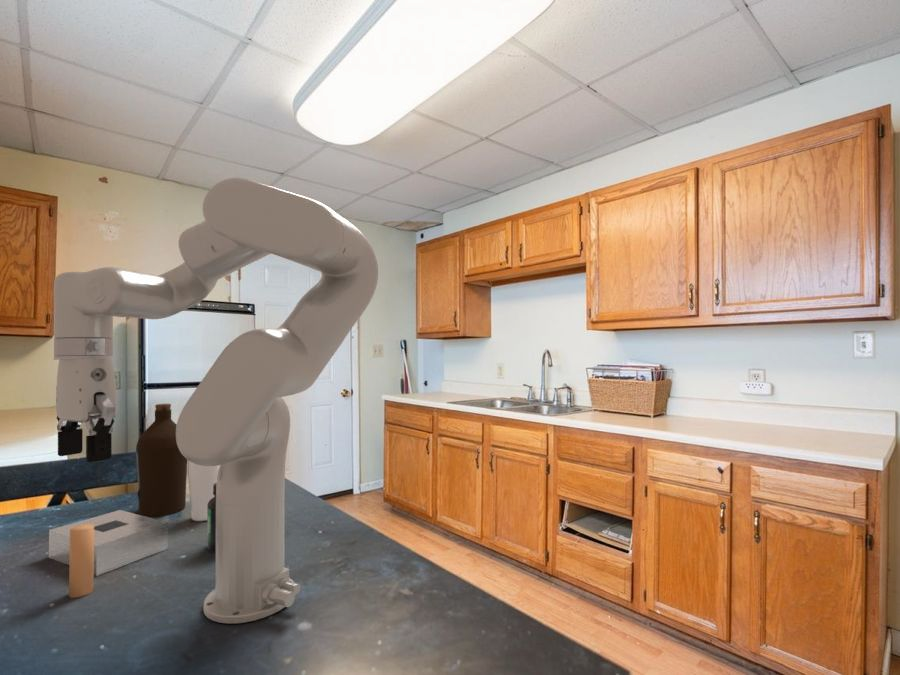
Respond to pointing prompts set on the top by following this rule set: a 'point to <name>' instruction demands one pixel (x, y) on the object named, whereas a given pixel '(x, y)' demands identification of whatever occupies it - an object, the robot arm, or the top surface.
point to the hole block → (114, 539)
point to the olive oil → (160, 467)
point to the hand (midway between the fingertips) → (84, 457)
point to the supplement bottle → (211, 522)
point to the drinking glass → (201, 488)
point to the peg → (81, 560)
